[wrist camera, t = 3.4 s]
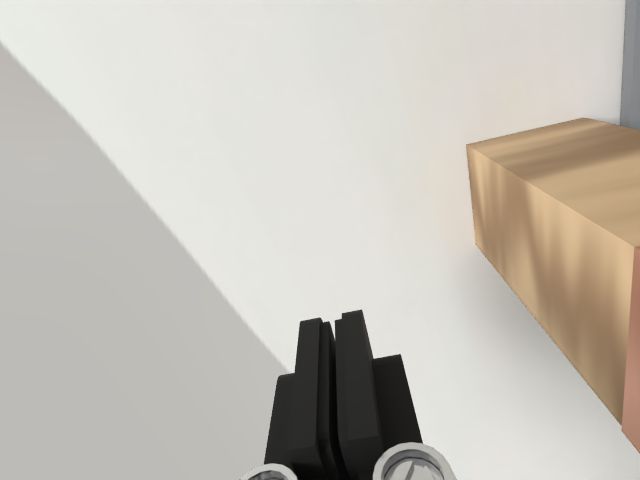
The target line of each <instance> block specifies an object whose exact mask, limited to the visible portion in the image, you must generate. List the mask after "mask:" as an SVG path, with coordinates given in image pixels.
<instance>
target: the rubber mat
mask: <svg viewBox="0 0 640 480" xmlns="http://www.w3.org/2000/svg"><path fill="white" fill-rule="evenodd" d="M620 126H623V127H627V128H632V129H636V130H640V0H626V9H625V30H624V51H623V72H622V92H621V113H620Z"/></svg>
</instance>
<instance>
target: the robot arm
mask: <svg viewBox="0 0 640 480" xmlns="http://www.w3.org/2000/svg"><path fill="white" fill-rule="evenodd" d="M240 480H457V479H456V477H455V475H454V473H453V471H452V469H451V467H450V465H449V464H448V462H447V461H446V459H445V458H444V456H443V455H442V454H440V453H439V452H438V451H437V450H435V449H434V448H432V447H430V446H427V445H425V444H423V442H422V438H421V434H420V430H419V426H418V422H417V418H416V414H415V410H414V406H413V402H412V398H411V394H410V390H409V386H408V382H407V378H406V374H405V369H404V365H403V361H402V358H401V354H399V355H393V356H387V357H382V358H376V359H373V355H372V350H371V346H370V342H369V337H368V333H367V329H366V324H365V320H364V316H363V312H362V310H357V311H352V312H347V313H342V319H339V320H335V339H334V335H333V332H332V328H331V325H330V322H322V319H321V318H315V319H310V320H305V321H301V322H300V327H299V337H298V346H297V355H296V365H295V373H291V374H286V375H281V376H279V377H278V380H277V385H276V391H275V397H274V404H273V410H272V417H271V423H270V429H269V435H268V442H267V448H266V454H265V461H264V465H261V466H259V467H256V468H254V469H252V470H251V471H249V472H248V473H247V474H245V475H244V476H243V477H242V478H241V479H240Z"/></svg>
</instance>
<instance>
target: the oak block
mask: <svg viewBox="0 0 640 480" xmlns="http://www.w3.org/2000/svg"><path fill="white" fill-rule="evenodd" d="M466 148H467V158H468V168H469V179H470V189H471V199H472V209H473V220H474V230H475V240H476V245H477V247H478V248H479V249H480V250H481V252H482V253H483V254H484V255H485V257H486V258H487V259H488V260H489V262H490V263H491V264H492V265H493V267H494V268H495V269H496V270H497V272H498V273H499V274H500V275H501V276H502V278H503V279H504V280H505V281H506V283H507V284H508V285H509V286H510V288H511V289H512V290H513V291H514V293H515V294H516V295H517V296H518V298H519V299H520V300H521V301H522V303H523V304H524V305H525V306H526V308H527V309H528V310H529V311H530V313H531V314H532V315H533V316H534V318H535V319H536V320H537V321H538V323H539V324H540V325H541V326H542V328H543V329H544V330H545V331H546V333H547V334H548V335H549V336H550V338H551V339H552V340H553V341H554V342H555V344H556V345H557V346H558V347H559V349H560V350H561V351H562V352H563V354H564V355H565V356H566V357H567V359H568V360H569V361H570V362H571V364H572V365H573V366H574V367H575V369H576V370H577V371H578V372H579V374H580V375H581V376H582V377H583V379H584V380H585V381H586V382H587V384H588V385H589V386H590V387H591V389H592V390H593V391H594V392H595V394H596V395H597V396H598V397H599V399H600V400H601V401H602V402H603V403H604V405H605V406H606V407H607V408H608V410H609V411H610V412H611V413H612V415H613V416H614V417H615V418H616V420H617V421H618V422H619V423H620V425H621V426H622V432H623V433H624V434H625V436H626V437H627V438H628V439H629V441H630V442H631V443H632V444H633V446H634V447H635V448H636V449H637V451H638V452H639V453H640V130H636V129H632V128H627V127H623V126H618V125H614V124H609V123H605V122H601V121H596V120H592V119H587V118H580V119H576V120H571V121H567V122H563V123H558V124H554V125H550V126H545V127H541V128H536V129H532V130H528V131H523V132H519V133H515V134H510V135H506V136H502V137H497V138H493V139H489V140H484V141H480V142H475V143H471V144H467V145H466Z"/></svg>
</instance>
